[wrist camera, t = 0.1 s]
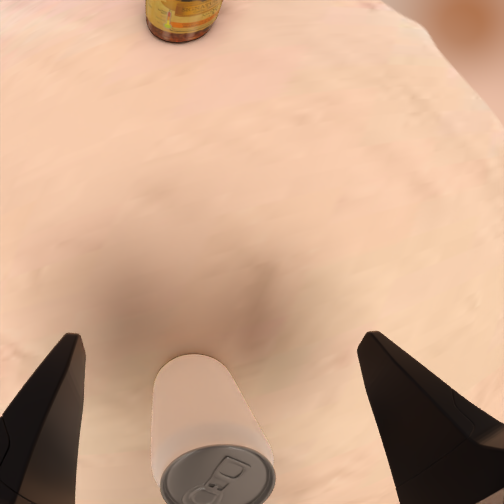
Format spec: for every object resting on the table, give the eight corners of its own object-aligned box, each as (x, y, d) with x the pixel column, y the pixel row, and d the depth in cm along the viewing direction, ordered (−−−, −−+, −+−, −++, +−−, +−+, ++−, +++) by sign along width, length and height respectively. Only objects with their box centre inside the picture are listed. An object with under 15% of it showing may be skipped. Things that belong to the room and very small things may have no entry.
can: (138, 397, 23) (127, 499, 11) (183, 336, 23) (200, 414, 12) (204, 434, 24) (234, 536, 12) (249, 378, 25) (309, 464, 13)
